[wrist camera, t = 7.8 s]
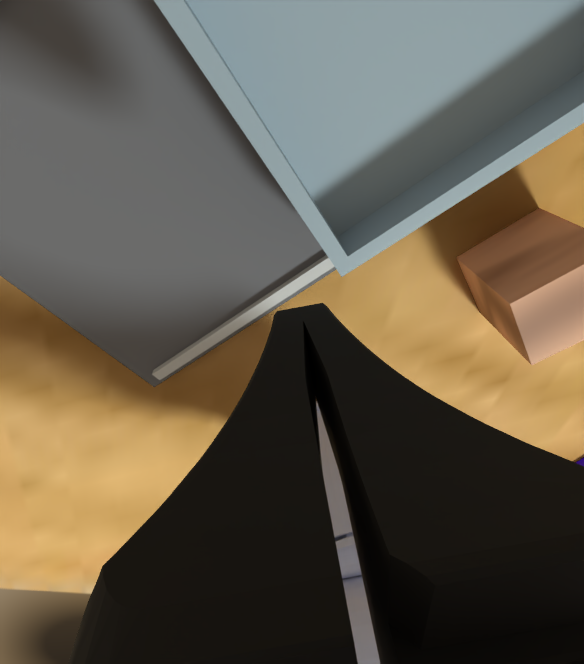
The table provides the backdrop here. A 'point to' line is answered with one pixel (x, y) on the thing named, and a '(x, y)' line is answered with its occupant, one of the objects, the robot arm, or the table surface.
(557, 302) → the block
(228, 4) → the light blue storage bin
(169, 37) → the track
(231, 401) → the table surface
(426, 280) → the table surface
